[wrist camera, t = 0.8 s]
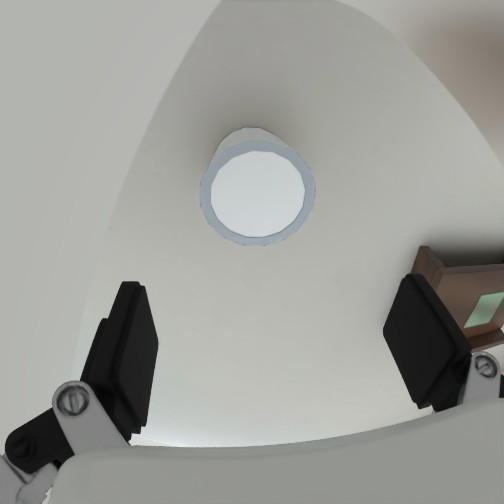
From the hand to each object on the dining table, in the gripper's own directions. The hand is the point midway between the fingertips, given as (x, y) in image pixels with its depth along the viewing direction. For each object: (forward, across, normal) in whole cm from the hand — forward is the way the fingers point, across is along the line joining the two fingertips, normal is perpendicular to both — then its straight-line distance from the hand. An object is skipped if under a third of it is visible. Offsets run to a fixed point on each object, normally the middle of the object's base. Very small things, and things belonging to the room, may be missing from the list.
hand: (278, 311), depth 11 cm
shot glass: (+16, 0, -1) cm, 16 cm away
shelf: (+16, -27, +13) cm, 34 cm away
